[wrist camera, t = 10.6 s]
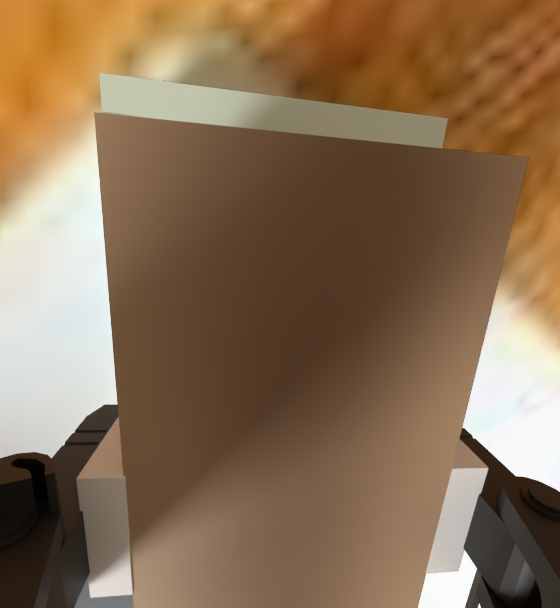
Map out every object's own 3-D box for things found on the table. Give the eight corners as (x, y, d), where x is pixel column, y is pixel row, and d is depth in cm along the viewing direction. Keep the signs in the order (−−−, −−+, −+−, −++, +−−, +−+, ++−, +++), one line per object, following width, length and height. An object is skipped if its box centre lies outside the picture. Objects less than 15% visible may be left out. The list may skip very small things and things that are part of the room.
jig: (139, 498, 17) (110, 572, 13) (116, 101, 12) (59, 47, 8) (356, 489, 19) (383, 554, 15) (416, 137, 14) (478, 105, 10)
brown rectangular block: (196, 506, 14) (147, 770, 7) (194, 186, 10) (93, 112, 4) (321, 500, 15) (385, 737, 8) (358, 199, 11) (528, 157, 4)
